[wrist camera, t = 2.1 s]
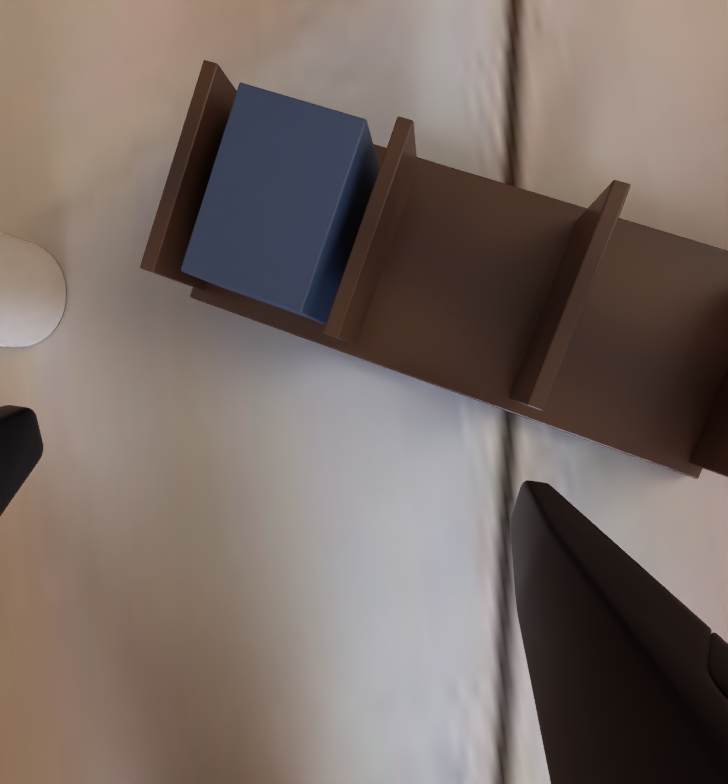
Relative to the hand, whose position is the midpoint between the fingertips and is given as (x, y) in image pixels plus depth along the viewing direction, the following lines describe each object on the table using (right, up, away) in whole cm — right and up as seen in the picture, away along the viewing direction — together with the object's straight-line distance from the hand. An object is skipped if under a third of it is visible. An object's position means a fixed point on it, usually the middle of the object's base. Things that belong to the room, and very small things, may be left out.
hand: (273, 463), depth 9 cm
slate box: (-1, +9, +13) cm, 16 cm away
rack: (+6, +6, +13) cm, 16 cm away
